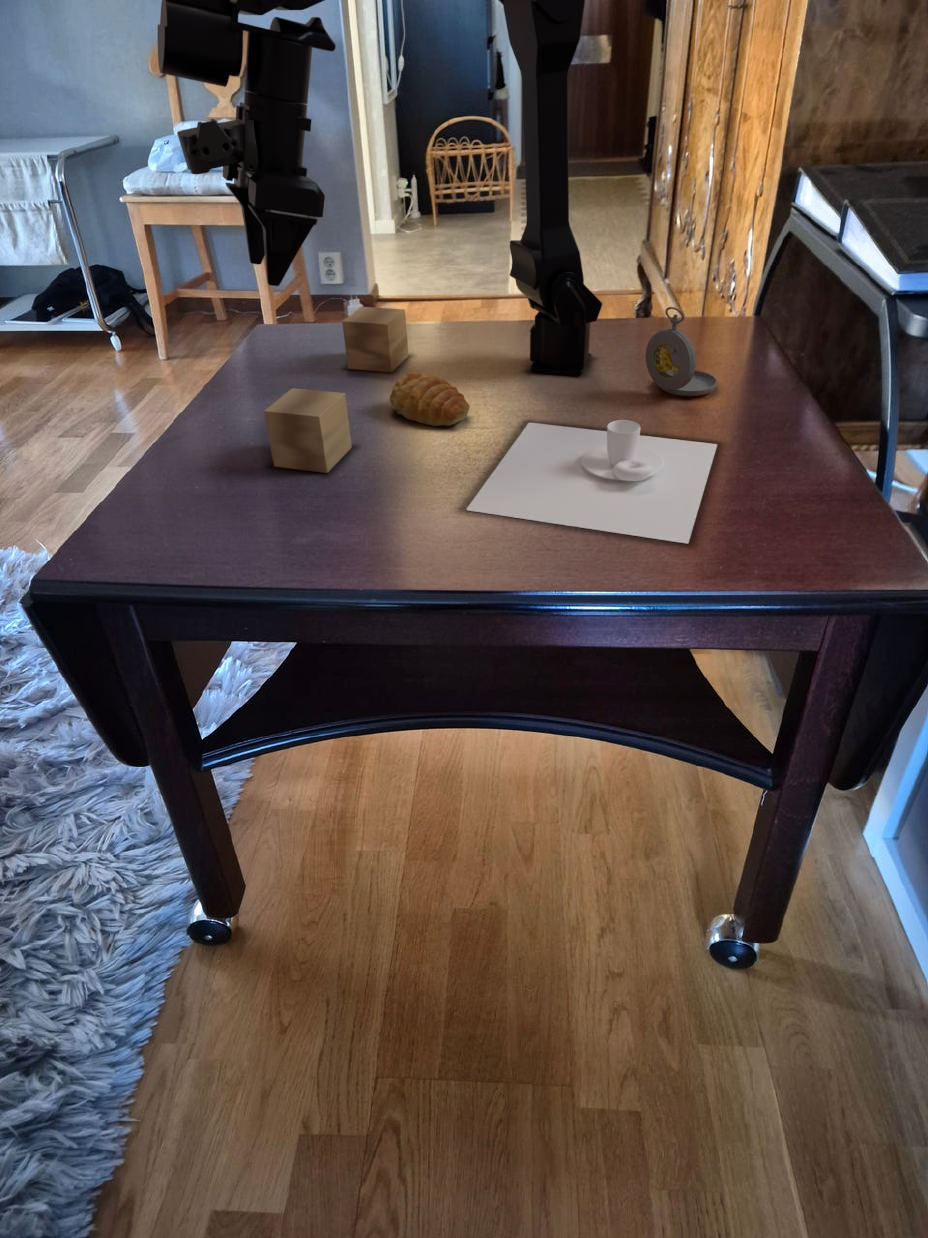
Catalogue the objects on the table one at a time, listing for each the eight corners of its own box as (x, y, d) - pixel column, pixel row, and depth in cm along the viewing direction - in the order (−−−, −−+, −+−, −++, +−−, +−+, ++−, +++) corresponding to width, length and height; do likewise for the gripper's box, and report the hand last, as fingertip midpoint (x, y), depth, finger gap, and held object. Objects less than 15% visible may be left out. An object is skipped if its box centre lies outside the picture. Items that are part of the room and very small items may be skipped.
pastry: (484, 416, 94) (483, 383, 91) (440, 436, 90) (438, 402, 88) (427, 395, 99) (425, 363, 97) (383, 413, 95) (380, 380, 93)
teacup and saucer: (653, 493, 78) (658, 453, 76) (569, 482, 80) (571, 442, 78) (669, 453, 85) (673, 414, 82) (591, 443, 87) (593, 406, 85)
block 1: (352, 447, 88) (345, 392, 85) (327, 473, 84) (319, 416, 80) (300, 441, 90) (291, 387, 86) (273, 466, 86) (263, 410, 82)
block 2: (408, 356, 110) (405, 309, 106) (391, 372, 105) (387, 324, 102) (366, 352, 112) (361, 306, 108) (347, 368, 107) (341, 320, 103)
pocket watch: (719, 380, 99) (732, 292, 93) (711, 407, 93) (724, 316, 87) (649, 374, 102) (657, 288, 96) (637, 400, 96) (645, 310, 89)
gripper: (173, 72, 82) (170, 243, 90) (200, 86, 68) (194, 287, 76) (287, 96, 87) (275, 257, 95) (334, 114, 73) (315, 301, 81)
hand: (263, 274), depth 86 cm, fingers open, 9 cm apart
